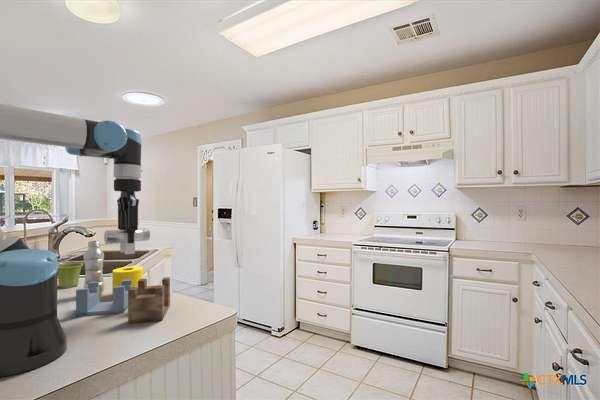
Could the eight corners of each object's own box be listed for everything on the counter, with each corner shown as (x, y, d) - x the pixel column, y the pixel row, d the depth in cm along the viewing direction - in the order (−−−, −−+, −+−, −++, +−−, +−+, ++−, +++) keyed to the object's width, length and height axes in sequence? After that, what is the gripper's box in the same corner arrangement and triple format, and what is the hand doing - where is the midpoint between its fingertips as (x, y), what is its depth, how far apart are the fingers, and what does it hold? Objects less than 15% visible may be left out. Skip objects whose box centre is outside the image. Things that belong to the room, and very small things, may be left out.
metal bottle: (92, 298, 108) (92, 242, 108) (78, 296, 110) (78, 242, 110) (108, 293, 114) (108, 240, 114) (95, 291, 116) (95, 239, 116)
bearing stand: (170, 305, 100) (170, 277, 100) (162, 320, 88) (162, 287, 88) (140, 308, 98) (140, 278, 98) (128, 323, 86) (128, 290, 86)
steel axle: (107, 244, 90) (107, 231, 90) (104, 243, 92) (104, 230, 92) (150, 240, 98) (150, 228, 98) (145, 239, 101) (145, 227, 101)
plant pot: (82, 282, 131) (82, 262, 131) (83, 286, 123) (84, 265, 123) (54, 286, 125) (54, 265, 125) (54, 291, 117) (54, 268, 117)
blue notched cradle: (123, 312, 94) (123, 286, 94) (76, 316, 91) (76, 289, 91) (132, 303, 103) (132, 279, 103) (89, 306, 100) (89, 282, 100)
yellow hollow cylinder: (118, 300, 106) (118, 273, 106) (108, 294, 113) (108, 269, 113) (147, 293, 114) (147, 268, 114) (136, 288, 120) (137, 265, 120)
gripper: (149, 178, 92) (149, 254, 92) (132, 180, 104) (131, 248, 104) (122, 176, 87) (122, 257, 87) (106, 179, 99) (106, 251, 98)
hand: (127, 252), depth 95 cm, fingers closed on steel axle, 4 cm apart
